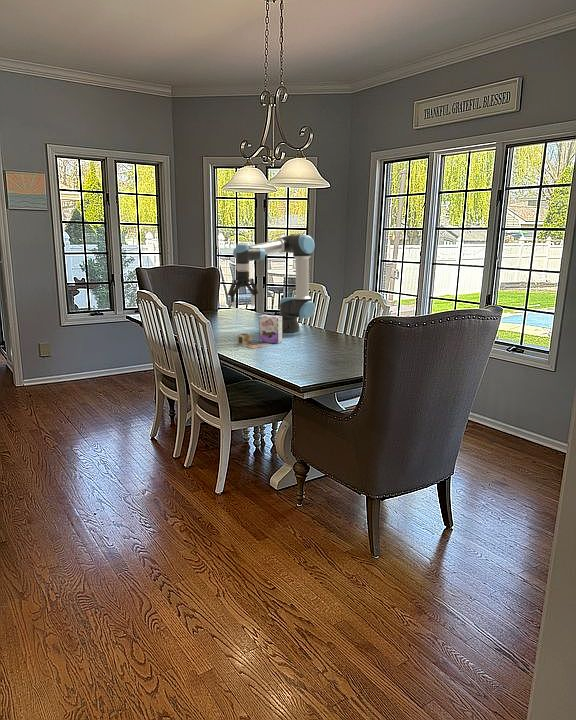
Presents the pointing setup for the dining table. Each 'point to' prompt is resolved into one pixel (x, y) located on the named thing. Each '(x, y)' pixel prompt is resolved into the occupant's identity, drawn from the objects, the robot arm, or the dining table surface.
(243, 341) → the cube
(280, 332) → the candy box
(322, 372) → the dining table surface
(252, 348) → the terracotta tile
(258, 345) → the grey tile
